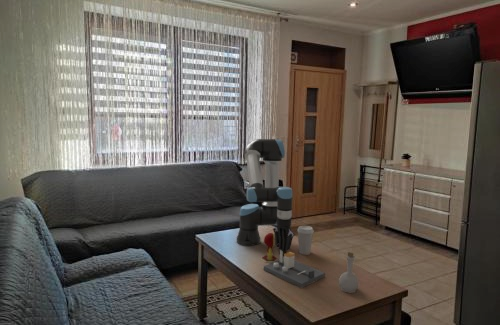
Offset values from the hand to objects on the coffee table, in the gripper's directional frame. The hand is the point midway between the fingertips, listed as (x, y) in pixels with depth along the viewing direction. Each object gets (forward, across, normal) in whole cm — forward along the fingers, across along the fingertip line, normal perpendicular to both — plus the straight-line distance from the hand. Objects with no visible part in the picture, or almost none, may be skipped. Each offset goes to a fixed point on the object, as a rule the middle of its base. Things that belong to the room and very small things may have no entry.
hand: (282, 261), depth 180 cm
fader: (+1, +4, 0) cm, 5 cm away
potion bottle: (+4, +35, +7) cm, 36 cm away
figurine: (+4, -12, +3) cm, 13 cm away
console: (+4, +8, 0) cm, 8 cm away
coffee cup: (+4, -6, +26) cm, 27 cm away
